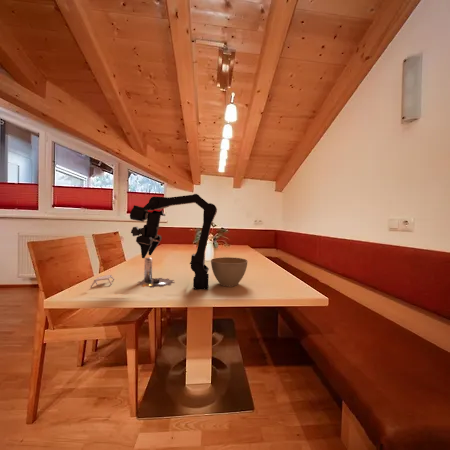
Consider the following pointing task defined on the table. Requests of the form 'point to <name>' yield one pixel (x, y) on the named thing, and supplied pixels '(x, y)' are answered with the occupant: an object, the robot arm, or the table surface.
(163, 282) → the sprocket plate
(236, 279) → the flower pot
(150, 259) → the drive pin
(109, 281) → the origami figure
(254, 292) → the table surface
